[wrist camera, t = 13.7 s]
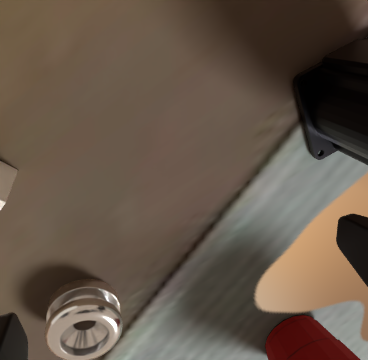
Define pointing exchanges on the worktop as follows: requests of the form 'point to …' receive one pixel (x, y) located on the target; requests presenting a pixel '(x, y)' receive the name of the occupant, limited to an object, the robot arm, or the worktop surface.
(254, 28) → the worktop surface
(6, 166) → the bin
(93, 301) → the grooved metal pulley
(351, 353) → the plastic cup
